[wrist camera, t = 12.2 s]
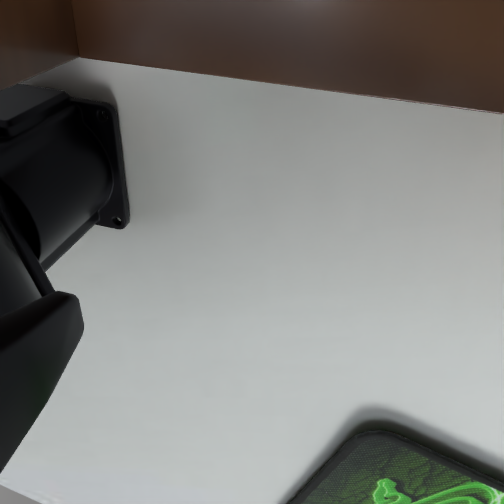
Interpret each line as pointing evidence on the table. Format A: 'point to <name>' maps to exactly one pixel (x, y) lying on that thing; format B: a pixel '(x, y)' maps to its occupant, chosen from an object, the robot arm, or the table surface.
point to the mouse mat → (396, 476)
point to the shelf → (276, 43)
